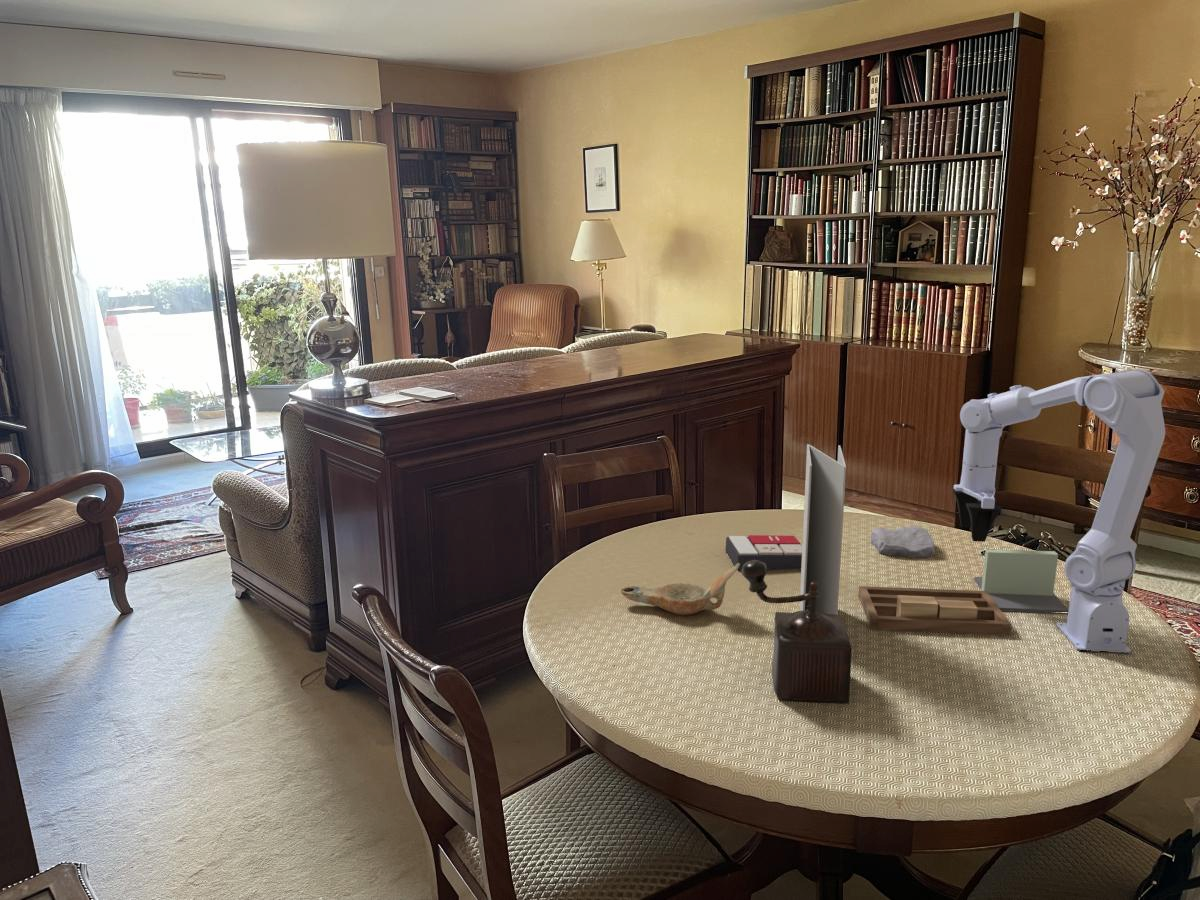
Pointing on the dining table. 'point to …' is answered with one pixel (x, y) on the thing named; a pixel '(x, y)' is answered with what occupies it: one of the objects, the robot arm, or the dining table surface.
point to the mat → (1025, 602)
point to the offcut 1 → (916, 606)
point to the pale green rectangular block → (1019, 572)
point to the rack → (883, 617)
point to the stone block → (903, 541)
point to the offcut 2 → (957, 609)
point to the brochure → (823, 528)
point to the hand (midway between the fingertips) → (972, 533)
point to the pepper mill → (806, 647)
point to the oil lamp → (682, 595)
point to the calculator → (765, 551)
